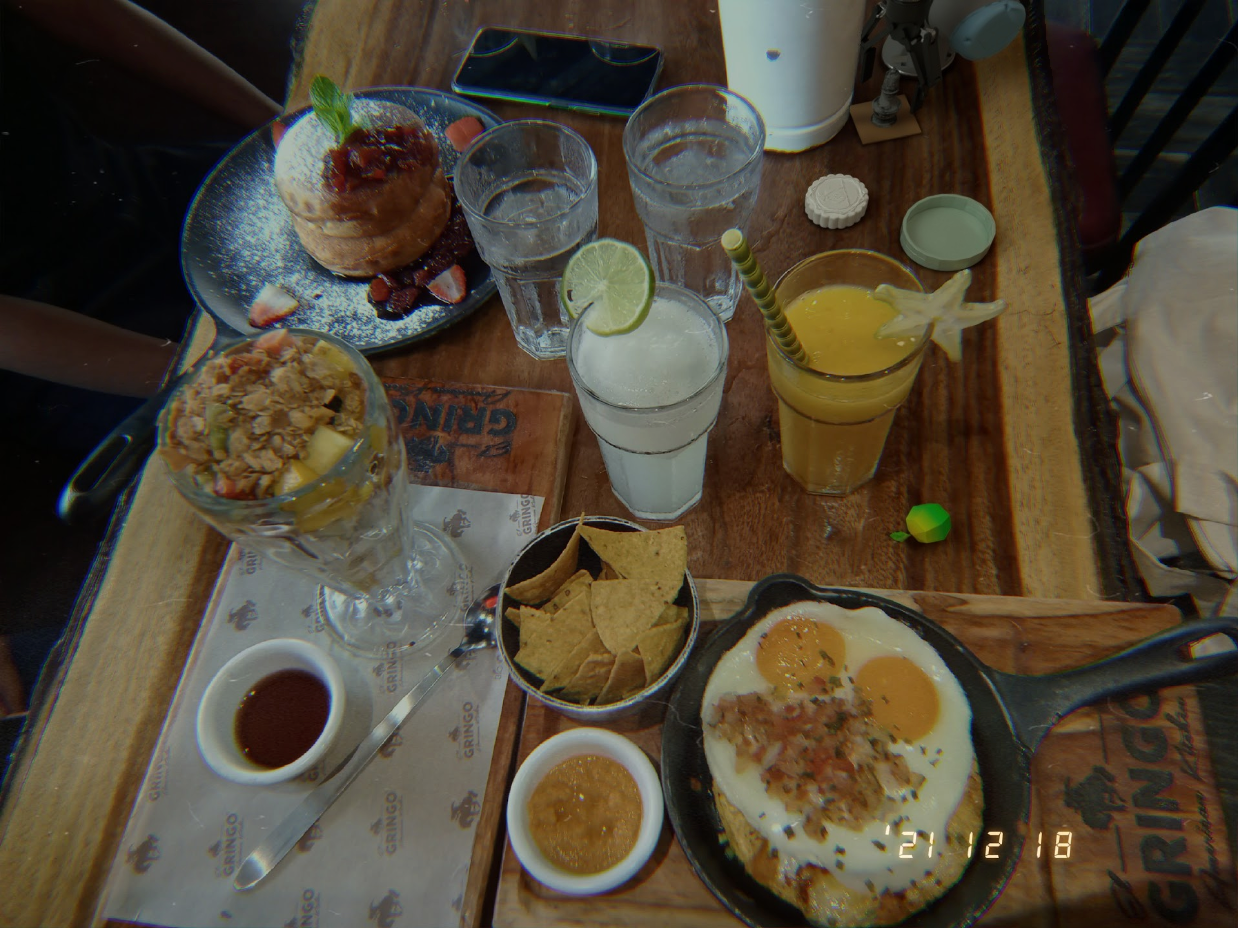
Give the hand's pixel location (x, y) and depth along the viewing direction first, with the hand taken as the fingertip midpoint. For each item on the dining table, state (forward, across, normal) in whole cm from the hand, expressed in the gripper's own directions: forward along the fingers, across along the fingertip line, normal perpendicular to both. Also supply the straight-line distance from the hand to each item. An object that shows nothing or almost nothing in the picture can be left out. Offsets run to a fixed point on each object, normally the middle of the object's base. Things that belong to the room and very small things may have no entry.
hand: (890, 95), depth 149 cm
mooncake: (+6, +10, -24) cm, 27 cm away
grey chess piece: (+6, 0, 0) cm, 6 cm away
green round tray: (+6, +30, -16) cm, 35 cm away
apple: (+6, +69, -63) cm, 93 cm away
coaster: (+6, 0, 0) cm, 6 cm away
